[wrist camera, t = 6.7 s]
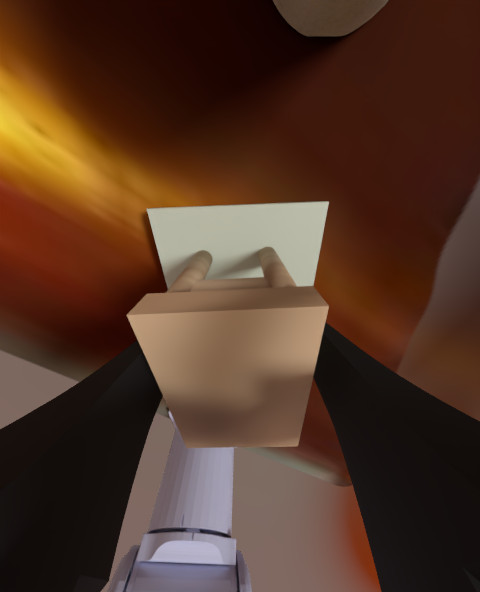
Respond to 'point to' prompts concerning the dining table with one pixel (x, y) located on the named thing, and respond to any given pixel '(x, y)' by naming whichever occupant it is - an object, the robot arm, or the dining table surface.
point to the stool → (233, 353)
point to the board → (240, 238)
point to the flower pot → (327, 15)
